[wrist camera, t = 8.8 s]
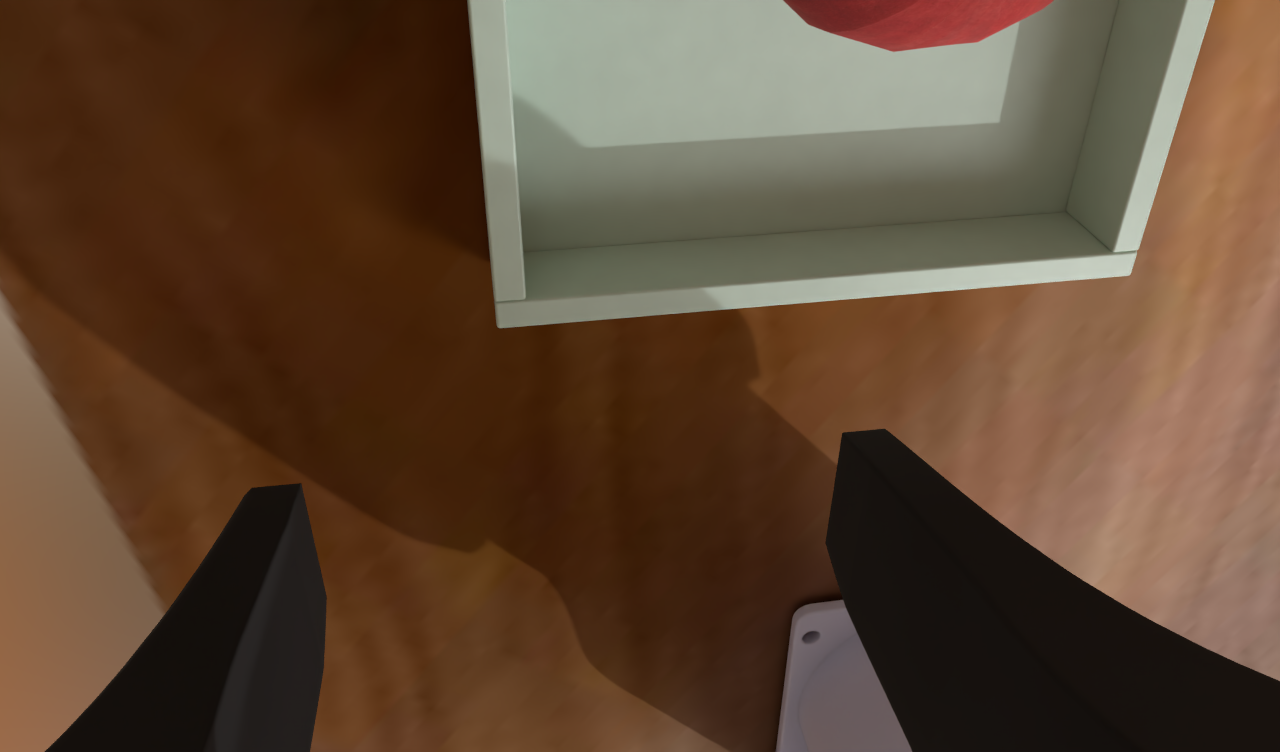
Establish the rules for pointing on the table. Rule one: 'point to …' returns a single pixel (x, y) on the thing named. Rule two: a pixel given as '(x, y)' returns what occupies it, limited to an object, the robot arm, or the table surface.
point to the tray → (812, 153)
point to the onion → (914, 20)
